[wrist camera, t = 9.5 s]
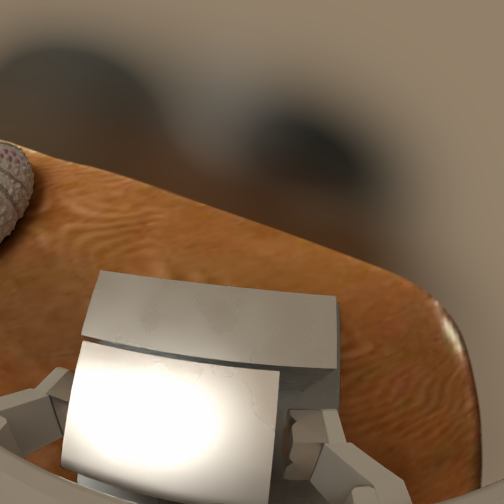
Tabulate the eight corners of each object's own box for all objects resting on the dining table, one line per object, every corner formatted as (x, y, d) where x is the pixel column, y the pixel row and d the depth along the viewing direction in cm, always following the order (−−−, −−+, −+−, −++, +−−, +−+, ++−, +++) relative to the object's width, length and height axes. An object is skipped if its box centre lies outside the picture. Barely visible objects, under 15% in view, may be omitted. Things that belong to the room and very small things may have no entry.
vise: (300, 631, 7) (326, 688, 1) (86, 597, 7) (35, 636, 1) (333, 311, 20) (374, 249, 14) (125, 289, 20) (83, 221, 14)
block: (250, 467, 14) (266, 512, 5) (155, 452, 14) (60, 466, 5) (256, 405, 15) (279, 371, 7) (164, 393, 16) (83, 340, 7)
